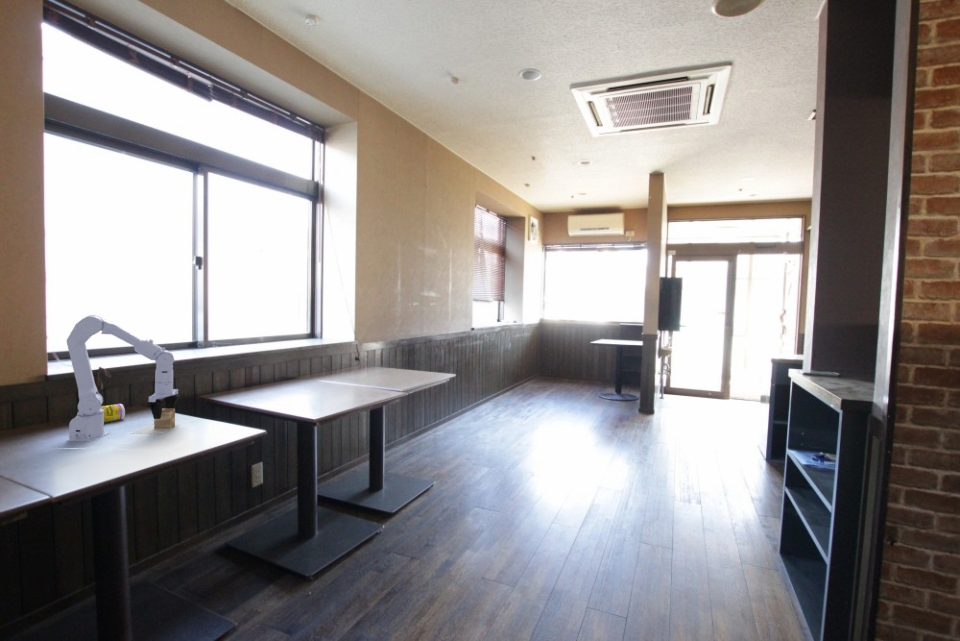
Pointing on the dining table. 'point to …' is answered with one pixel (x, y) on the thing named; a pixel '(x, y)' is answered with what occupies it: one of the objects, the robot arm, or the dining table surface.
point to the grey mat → (152, 430)
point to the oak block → (165, 419)
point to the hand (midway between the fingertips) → (163, 416)
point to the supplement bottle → (113, 412)
